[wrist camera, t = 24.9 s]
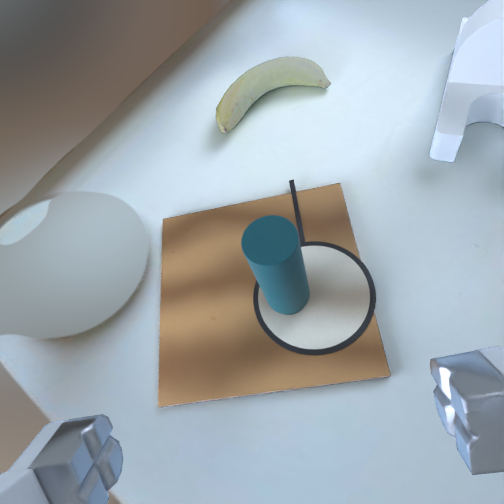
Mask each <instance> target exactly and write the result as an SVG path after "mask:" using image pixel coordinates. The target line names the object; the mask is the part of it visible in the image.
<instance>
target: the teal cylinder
mask: <svg viewBox="0 0 504 504" xmlns="http://www.w3.org/2000/svg"><path fill="white" fill-rule="evenodd" d="M241 247H242V251H243V253H244V255H245V257H246V259H247V261H248V263H249V265H250V267H251V269H252V271H253V273H254V276H255V278H256V280H257V282H258V284H259V286H260V288H261V290H262V292H263V294H264V296H265V298H266V300H267V302H268V304H269V306H270V307H271V308H272V309H273V310H274V311H276V312H278V313H280V314H285V315H292V314H296V313H298V312H299V311H301V310H302V309H303V308H304V307H305V306H306V304H307V302H308V300H309V297H310V289H309V284H308V279H307V274H306V270H305V265H304V260H303V255H302V250H301V245H300V240H299V235H298V231H297V229H296V227H295V225H294V224H293V223H292V222H291V221H290V220H288V219H286V218H284V217H282V216H278V215H268V216H263V217H260V218H258V219H256V220H254V221H253V222H252V223H250V224H249V225H248V227H247V228H246V229H245V231H244V233H243V235H242V239H241Z"/></svg>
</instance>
